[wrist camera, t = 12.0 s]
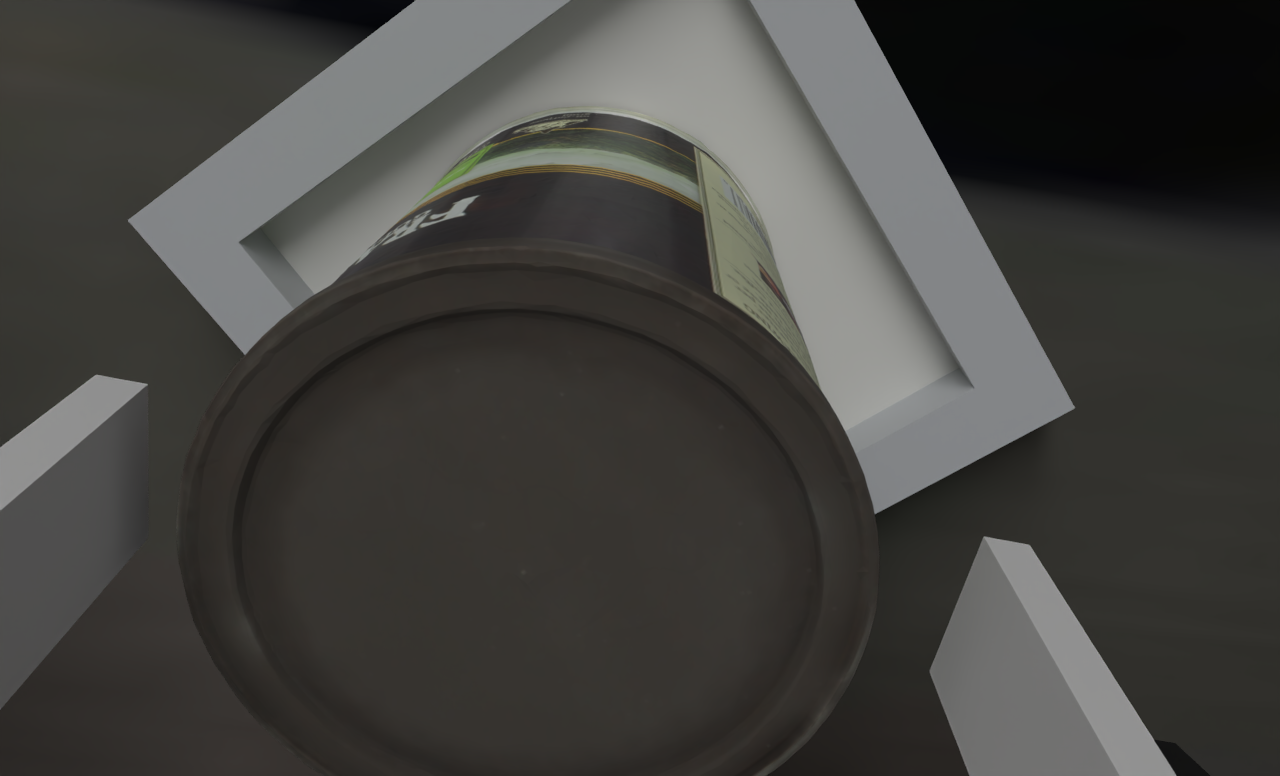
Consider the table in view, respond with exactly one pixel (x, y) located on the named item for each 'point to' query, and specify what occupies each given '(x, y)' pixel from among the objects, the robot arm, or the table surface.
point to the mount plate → (698, 105)
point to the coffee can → (538, 482)
